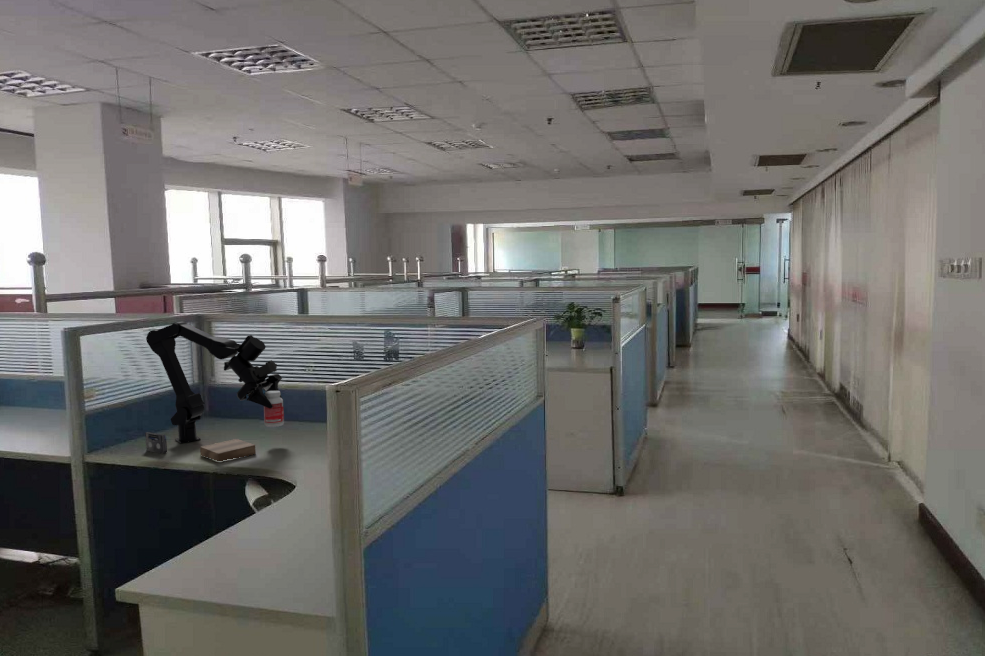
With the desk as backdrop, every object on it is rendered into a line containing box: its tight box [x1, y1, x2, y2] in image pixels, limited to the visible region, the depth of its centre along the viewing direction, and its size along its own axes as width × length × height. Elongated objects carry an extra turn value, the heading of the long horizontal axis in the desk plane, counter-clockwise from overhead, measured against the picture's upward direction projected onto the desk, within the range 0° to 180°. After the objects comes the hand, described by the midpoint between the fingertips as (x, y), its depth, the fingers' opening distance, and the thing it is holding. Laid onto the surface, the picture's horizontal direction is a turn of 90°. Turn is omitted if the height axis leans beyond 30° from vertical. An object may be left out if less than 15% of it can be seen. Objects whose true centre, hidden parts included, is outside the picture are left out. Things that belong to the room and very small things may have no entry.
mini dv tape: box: [144, 431, 168, 454], centre depth 233 cm, size 8×2×6 cm, turn 61°
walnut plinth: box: [199, 438, 257, 461], centre depth 227 cm, size 12×12×3 cm
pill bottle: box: [263, 390, 285, 428], centre depth 236 cm, size 6×6×11 cm
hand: (277, 405), depth 236 cm, fingers closed on pill bottle, 6 cm apart
